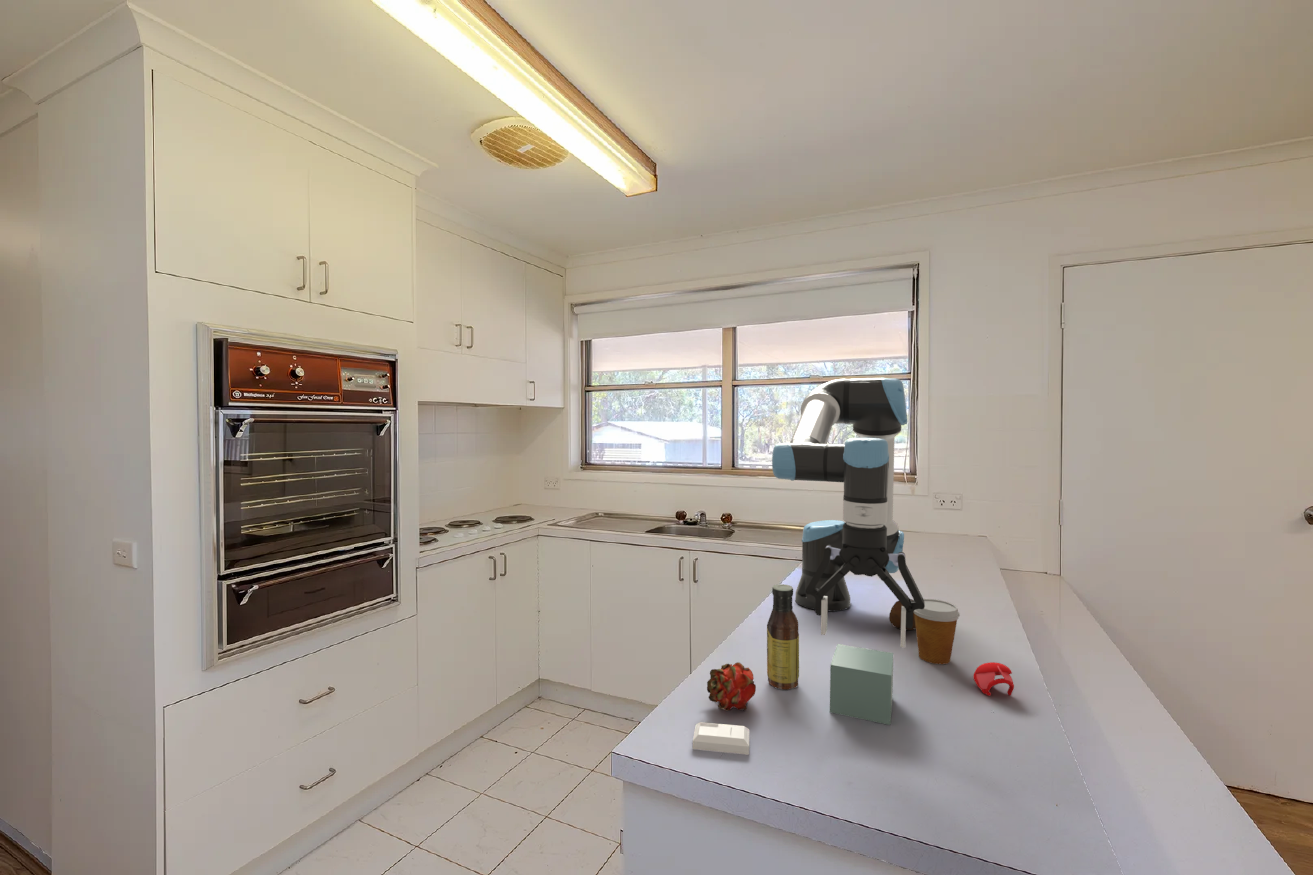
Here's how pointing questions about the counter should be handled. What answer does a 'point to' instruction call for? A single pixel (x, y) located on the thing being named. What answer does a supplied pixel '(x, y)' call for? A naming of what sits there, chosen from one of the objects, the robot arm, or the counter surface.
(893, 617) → the potato
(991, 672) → the red curved piece
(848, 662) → the sage green cube
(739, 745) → the soap bar
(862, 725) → the counter surface
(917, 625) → the disposable coffee cup
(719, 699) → the dragon fruit
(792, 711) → the counter surface
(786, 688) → the sauce bottle
